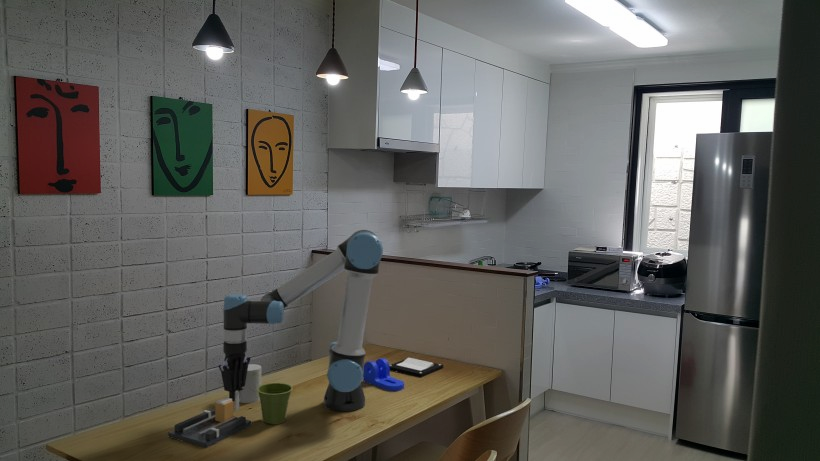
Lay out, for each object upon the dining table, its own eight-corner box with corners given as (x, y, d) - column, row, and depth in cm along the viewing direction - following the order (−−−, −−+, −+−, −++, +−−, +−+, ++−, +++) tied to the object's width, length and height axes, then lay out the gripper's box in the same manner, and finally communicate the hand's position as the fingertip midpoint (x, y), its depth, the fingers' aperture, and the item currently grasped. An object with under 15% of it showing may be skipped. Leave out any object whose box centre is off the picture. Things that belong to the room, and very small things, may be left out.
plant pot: (274, 430, 199) (275, 396, 198) (248, 422, 205) (249, 389, 205) (299, 419, 209) (300, 386, 208) (274, 411, 215) (274, 380, 215)
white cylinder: (255, 404, 222) (255, 371, 222) (234, 401, 224) (234, 369, 223) (264, 396, 230) (265, 365, 230) (244, 394, 232) (244, 363, 231)
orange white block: (233, 418, 204) (233, 399, 203) (224, 423, 200) (224, 403, 199) (224, 416, 205) (224, 397, 205) (214, 420, 202) (214, 401, 201)
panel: (251, 425, 203) (251, 417, 203) (206, 447, 185) (206, 439, 185) (214, 416, 210) (214, 408, 210) (168, 437, 192) (168, 428, 192)
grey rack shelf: (246, 422, 201) (246, 416, 201) (210, 440, 187) (210, 433, 186) (210, 414, 208) (210, 407, 208) (173, 430, 193) (173, 423, 193)
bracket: (363, 381, 251) (363, 360, 251) (378, 377, 257) (378, 356, 257) (393, 392, 239) (393, 370, 238) (408, 388, 245) (409, 366, 244)
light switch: (443, 361, 273) (421, 370, 258) (443, 369, 273) (421, 378, 258) (409, 354, 283) (386, 362, 268) (409, 361, 283) (386, 370, 269)
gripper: (239, 335, 213) (239, 401, 215) (212, 343, 201) (212, 413, 203) (256, 338, 210) (256, 405, 211) (229, 346, 198) (229, 417, 200)
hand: (234, 409), depth 207 cm, fingers closed
